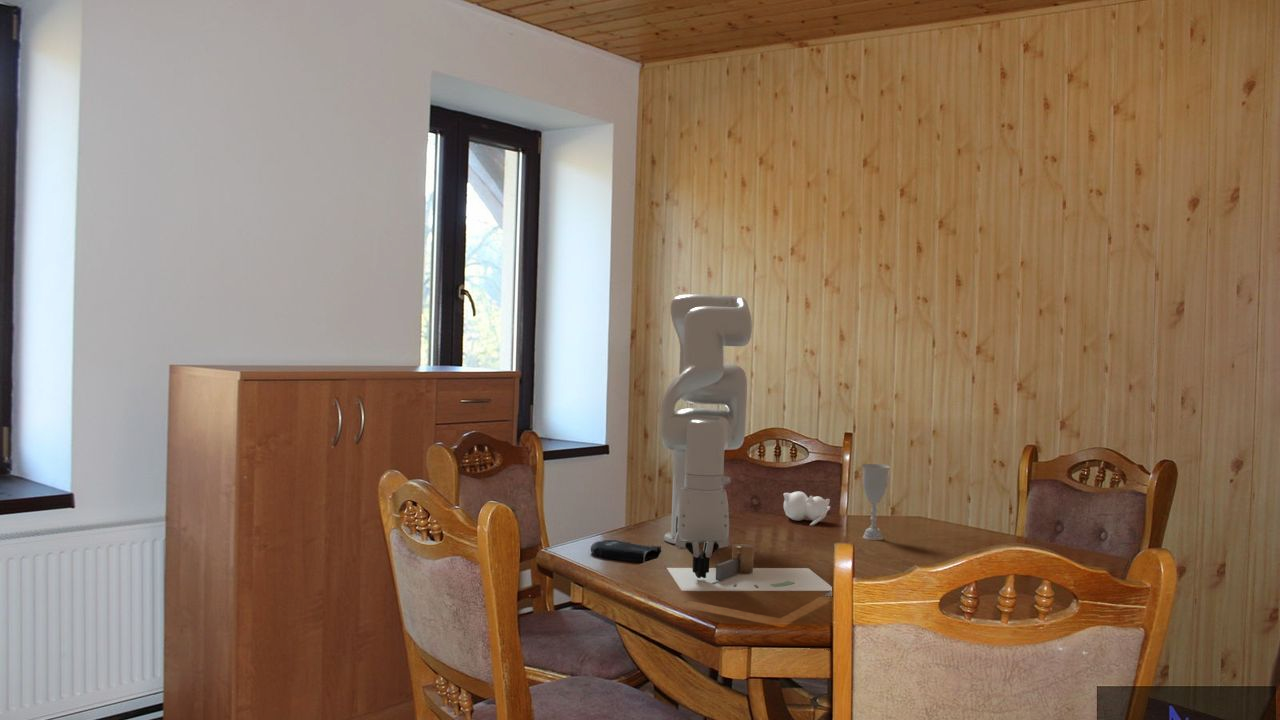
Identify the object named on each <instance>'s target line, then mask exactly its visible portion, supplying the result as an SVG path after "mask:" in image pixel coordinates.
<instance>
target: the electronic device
mask: <svg viewBox="0 0 1280 720" xmlns="http://www.w3.org/2000/svg"><path fill="white" fill-rule="evenodd" d="M590 552H591V554H592V555H593V556H595V557H598V558H603V559H609V560H615V559H616V560H617V561H624V562H625V561H627V562H637V563H647V562H650V561H652V560H654V559H658V558H659V556H660V555H661V553H662V546H661V545H656V546H655V545H650V546H649V545H644V544H643V545H642V544H636V543H631V542H628V541H622V540H617V539H606V540H605V539H604V540H600V541H599V540H598V541H596V542H594V543H592V544H591V546H590ZM650 557H651V558H650ZM616 560H615V561H616Z"/></svg>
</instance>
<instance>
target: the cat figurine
mask: <svg viewBox="0 0 1280 720" xmlns="http://www.w3.org/2000/svg"><path fill="white" fill-rule="evenodd" d="M783 498H784V501H783V510H784V513H785V516H786V517H788V518H790V519H791V520H793V521H795V522H796V521H797V522H800V521H803V520H804V519H805V518H808V519H809V520H811V521H812V522H811V523H810V524H809V527H810V526H811V527H813V526H815V525H816V524H817V523H820V522H821V521H823V519H824V518H825V517H826V516H827V513H828V511H830V509H831V505H830V501H831V499H830V498H826V499H824V498H822V497H821V496H817V495H816V496H813V495H810V496H809V497H808V495H807V494H806V493H805V492H803V491H799V490H798V491H793V492H791V493H790V492H784V493H783Z"/></svg>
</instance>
